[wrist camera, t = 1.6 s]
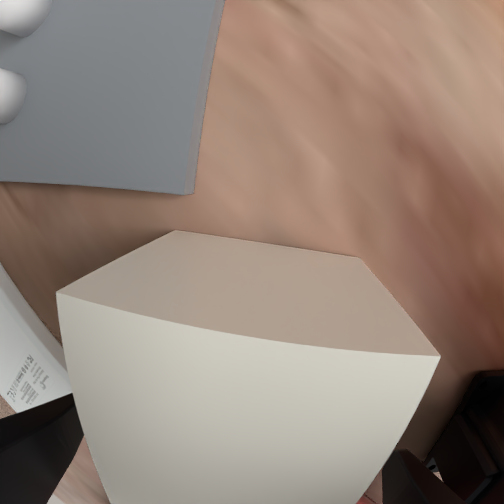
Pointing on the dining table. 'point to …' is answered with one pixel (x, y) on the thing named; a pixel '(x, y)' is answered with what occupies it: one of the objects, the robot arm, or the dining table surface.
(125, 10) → the base plate
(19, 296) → the external hard drive
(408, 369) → the block
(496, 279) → the dining table surface
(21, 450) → the robot arm
